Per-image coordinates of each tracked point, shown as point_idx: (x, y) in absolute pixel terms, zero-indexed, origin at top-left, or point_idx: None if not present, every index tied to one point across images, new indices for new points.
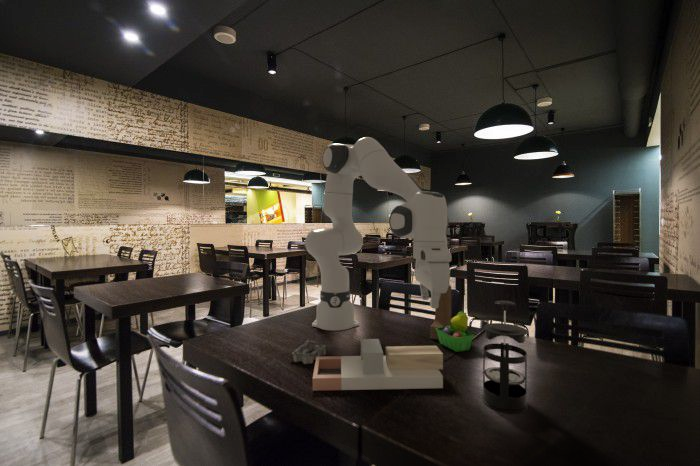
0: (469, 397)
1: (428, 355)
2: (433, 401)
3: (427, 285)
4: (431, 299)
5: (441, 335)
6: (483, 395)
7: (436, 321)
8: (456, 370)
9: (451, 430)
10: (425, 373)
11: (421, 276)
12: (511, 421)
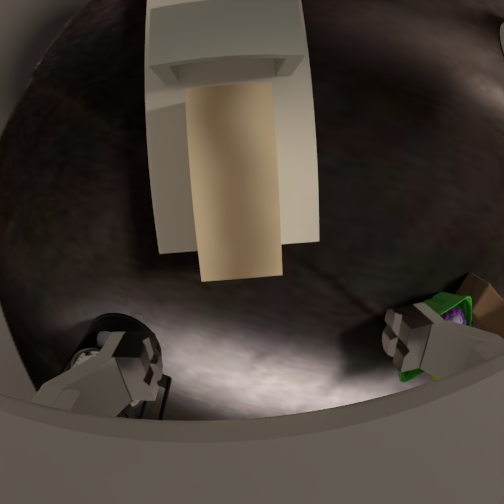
0: (130, 293)
1: (196, 230)
2: (102, 210)
3: (37, 433)
4: (85, 364)
5: (444, 304)
6: (117, 320)
7: (498, 305)
8: (274, 301)
9: (24, 228)
10: (172, 207)
11: (441, 476)
12: (68, 331)
